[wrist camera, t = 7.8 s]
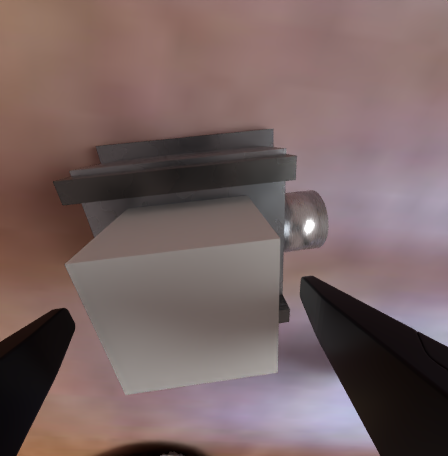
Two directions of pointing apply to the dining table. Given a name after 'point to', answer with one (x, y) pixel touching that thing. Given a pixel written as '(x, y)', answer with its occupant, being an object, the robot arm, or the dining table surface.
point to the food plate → (173, 454)
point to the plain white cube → (183, 293)
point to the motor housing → (201, 184)
